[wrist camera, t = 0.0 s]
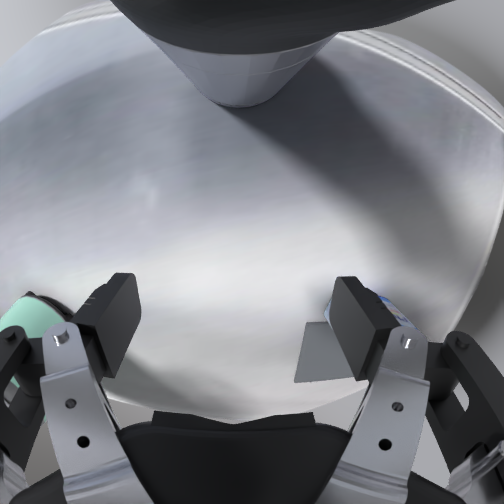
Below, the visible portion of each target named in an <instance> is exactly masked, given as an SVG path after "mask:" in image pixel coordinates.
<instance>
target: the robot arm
mask: <svg viewBox="0 0 504 504" xmlns="http://www.w3.org/2000/svg"><path fill="white" fill-rule="evenodd" d="M110 1H111V2H112V3H113V4H114V5H115V6H116V7H117V8H118V9H119V10H120V11H121V12H122V13H123V14H124V15H125V16H126V17H127V18H128V19H129V20H131V21H132V22H133V23H134V24H135V25H136V26H137V27H138V28H139V29H140V30H141V31H142V32H143V33H144V34H145V35H147V36H148V37H149V38H150V39H151V40H152V41H153V42H154V43H155V44H156V45H157V46H158V47H159V48H160V49H161V50H162V51H163V52H164V53H165V54H166V55H167V56H168V57H169V58H170V59H171V60H172V62H173V63H174V64H175V65H176V66H177V67H178V68H179V69H180V70H181V71H182V72H183V73H184V74H185V75H186V77H187V78H188V79H189V80H190V81H191V82H192V83H193V84H194V85H195V87H196V88H197V89H198V90H199V91H200V92H201V93H202V94H203V95H204V96H206V97H207V98H208V99H210V100H212V101H213V102H215V103H217V104H220V105H224V106H227V107H235V108H242V107H251V106H254V105H258V104H261V103H263V102H265V101H267V100H269V99H270V98H271V97H273V96H274V95H275V94H277V92H278V91H279V90H280V89H281V88H282V87H283V86H284V85H285V84H286V83H287V82H288V81H289V80H290V79H291V78H292V77H293V76H294V75H295V74H296V73H297V72H298V71H299V70H300V69H301V68H302V67H303V66H304V65H305V64H306V63H307V62H308V61H309V60H310V59H311V58H312V57H313V56H314V55H315V54H316V53H318V52H319V51H320V50H321V49H322V48H323V47H324V46H325V45H326V44H327V43H328V42H329V41H330V40H331V39H332V38H333V37H334V36H335V35H337V34H338V33H339V32H344V31H355V30H362V29H369V28H374V27H379V26H383V25H387V24H390V23H393V22H396V21H400V20H402V19H405V18H407V17H410V16H413V15H415V14H418V13H420V12H423V11H425V10H428V9H431V8H433V7H436V6H439V5H442V4H445V3H448V2H451V1H454V0H110ZM140 319H141V305H140V299H139V294H138V288H137V282H136V278H135V275H134V274H133V273H115V274H114V275H113V276H112V277H111V279H110V280H109V281H108V282H107V284H103V285H102V286H100V287H99V288H97V289H95V290H94V292H93V293H92V294H91V295H90V296H89V298H88V299H87V300H86V301H85V303H84V304H83V305H82V306H81V308H80V309H79V310H78V311H77V313H76V314H75V315H74V317H73V318H72V319H71V320H70V322H61V323H57V324H55V325H53V326H51V327H49V328H48V329H47V330H46V331H45V332H44V334H43V337H40V338H28V336H27V334H26V332H25V330H24V328H23V327H21V326H18V325H14V326H9V327H7V328H5V329H3V330H2V331H1V332H0V504H504V377H503V376H502V374H501V373H500V372H499V371H498V369H497V368H496V366H495V365H494V364H493V362H492V361H491V360H490V359H489V357H488V356H487V355H486V354H485V352H484V351H483V350H482V349H481V347H480V346H479V345H478V344H477V343H476V342H475V340H474V339H473V338H472V337H470V336H469V335H468V334H466V333H463V332H459V331H452V332H450V333H448V335H447V337H446V339H445V341H444V343H434V342H428V340H427V338H426V337H425V335H424V334H423V333H422V332H420V331H419V330H417V329H415V328H412V327H408V326H401V324H400V323H399V322H398V320H397V319H396V318H395V317H394V315H393V314H392V313H391V311H390V310H389V309H387V306H386V305H385V304H384V303H382V300H381V299H380V298H379V296H378V295H377V294H376V293H374V292H373V291H371V290H370V289H368V288H365V287H364V286H363V285H362V283H361V282H360V281H359V280H358V278H357V277H355V276H346V277H337V278H336V281H335V285H334V290H333V295H332V300H331V305H330V310H329V320H330V324H331V327H332V329H333V331H334V333H335V335H336V337H337V340H338V342H339V344H340V346H341V348H342V351H343V353H344V355H345V357H346V359H347V362H348V364H349V366H350V368H351V371H352V373H353V375H354V378H355V380H356V381H361V380H367V379H368V381H369V385H368V387H367V389H366V392H365V394H364V396H363V399H362V401H361V403H360V405H359V408H358V410H357V412H356V414H355V416H354V418H353V420H352V423H351V425H350V426H349V428H348V430H347V431H346V430H343V429H341V428H338V427H335V426H331V425H327V424H322V423H315V419H314V415H313V412H309V413H299V414H286V415H273V416H270V417H266V418H262V419H257V420H253V421H249V422H244V423H239V424H227V423H223V422H219V421H215V420H211V419H207V418H203V417H199V416H196V415H192V414H181V413H171V412H162V411H154V414H153V418H152V421H148V422H141V423H137V424H133V425H130V426H127V427H125V428H122V427H121V426H120V424H119V422H118V420H117V418H116V416H115V414H114V411H113V409H112V407H111V405H110V402H109V400H108V398H107V395H106V393H105V391H104V388H103V386H102V384H101V380H102V378H103V376H104V377H109V378H115V376H116V374H117V371H118V369H119V367H120V364H121V362H122V360H123V357H124V355H125V353H126V351H127V348H128V346H129V344H130V342H131V339H132V337H133V335H134V333H135V331H136V329H137V327H138V324H139V322H140ZM13 376H14V378H15V380H16V381H17V383H18V384H19V388H18V390H17V392H16V394H15V396H14V397H13V399H12V401H11V403H10V405H9V407H7V406H6V404H5V402H4V391H5V389H6V387H7V386H8V384H9V382H10V380H11V379H12V377H13ZM459 382H460V384H461V385H462V387H463V388H464V390H465V392H466V393H467V395H468V397H469V406H468V409H467V410H466V412H465V411H464V409H463V407H462V406H461V404H460V402H459V401H458V399H457V397H456V395H455V394H454V392H453V390H454V389H455V387H456V386H457V384H458V383H459ZM45 415H46V419H47V424H48V428H49V432H50V436H51V440H52V444H53V447H54V451H55V454H56V457H57V461H58V464H59V467H60V469H59V470H57V471H55V472H54V473H52V474H50V475H49V476H47V477H45V478H44V479H42V480H40V481H39V482H37V483H35V484H33V485H31V486H29V485H28V484H27V483H26V478H25V474H24V471H25V468H26V465H27V462H28V459H29V456H30V452H31V450H32V447H33V444H34V442H35V439H36V436H37V434H38V431H39V429H40V426H41V424H42V421H43V419H44V416H45ZM424 416H426V417H427V420H428V422H429V424H430V427H431V428H432V431H433V433H434V435H435V438H436V440H437V442H438V445H439V447H440V449H441V452H442V454H443V456H444V459H445V461H446V463H447V467H448V469H449V472H450V478H449V485H447V487H446V488H445V489H444V488H442V487H440V486H438V485H436V484H435V483H433V482H431V481H429V480H427V479H425V478H423V477H421V476H420V475H417V474H416V473H414V472H413V471H411V468H412V465H413V461H414V458H415V455H416V451H417V447H418V443H419V440H420V435H421V431H422V427H423V422H424Z"/></svg>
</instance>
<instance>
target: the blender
mask: <svg viewBox="0 0 504 504" xmlns="http://www.w3.org/2000/svg"><path fill="white" fill-rule="evenodd" d="M72 318H73V316H72V315H71V314H66V315H64V314H63V313H62V312H61V311H60V310H59V309H58V308H57V307H56V306H55V305H53V304H52V303H50V302H49V301H47V300H45V299H43V298H41V297H39V296H35V295H34V293H32V292H31V291H28V292H27V293H26V294H25V295H24V296H22V297H21V298H19V299H18V300H17V301H16V302H15V303H14V304H13V305H12V307H11V308H10V309H9V310H8V311H7V312H6V313H5V314H4V315H3V317H2V318H1V319H0V332H1V331H2V330H3V329H5V328H7V327H9V326H14V325H18V326H21V327H23V328H24V330H25V332H26V334H27V336H28V338H40V337H43V334H44V332H45V331H46V330H47V329H48V328H49V327H51V326H53V325H55V324H57V323H61V322H70V320H71V319H72ZM18 388H19V384H18V383H17V381H16V380H15V378H14V376H13V377H12V379H11V380H10V382H9V384H8V386H7V387H6V389H5V391H4V402H5V404H6V406H7V407H9V405H10V403H11V401H12V399H13V397H14V396H15V394H16V392H17V390H18ZM46 420H47V419H46V415H45V416H44V419H43V421H42V424H41V426H42V425H43V424H44V423H45V422H46Z"/></svg>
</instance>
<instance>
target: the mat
mask: <svg viewBox="0 0 504 504" xmlns="http://www.w3.org/2000/svg"><path fill="white" fill-rule="evenodd" d="M349 377H354V375H353V373H352V371H351V368H350V366H349V364H348V362H347V359H346V357H345V355H344V353H343V351H342V348H341V346H340V344H339V342H338V340H337V337H336V335H335V333H334V331H333V329H332V328H331V326H330V324H329V323H328V322H311V323H306V327H305V332H304V337H303V342H302V347H301V352H300V356H299V361H298V365H297V370H296V374H295V378H294V383H301V382H313V381H324V380H333V379H341V378H349Z"/></svg>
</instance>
